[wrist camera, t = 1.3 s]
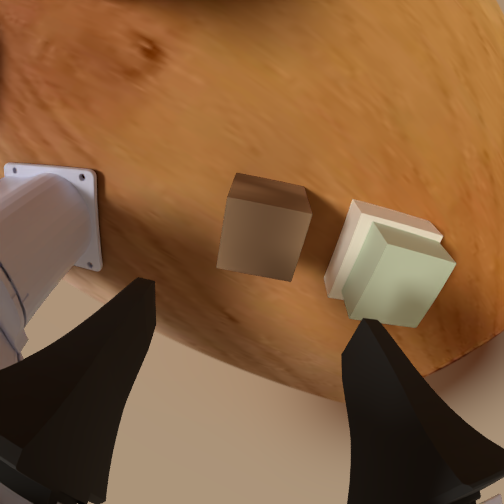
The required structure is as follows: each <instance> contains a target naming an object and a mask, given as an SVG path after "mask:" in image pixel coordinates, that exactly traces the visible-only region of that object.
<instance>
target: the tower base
mask: <svg viewBox="0 0 504 504" xmlns="http://www.w3.org/2000/svg"><path fill="white" fill-rule="evenodd" d="M372 222H377V223H380V224H384V225H387V226H391V227H394V228H397V229H401V230H404V231H407V232H410V233H414V234H417V235H420V236H423V237H426V238H429V239H432V240H435V241H438V242H439V243H440V242H441V240H442V238H443V235H442V234H441V233H440V232H439V231H438V230H437V229H436V228H435V226H434V225H433V224H432V223H431V222H430V221H427V220H424V219H421V218H418V217H415V216H411V215H408V214H405V213H401V212H398V211H395V210H391V209H388V208H384V207H381V206H377V205H374V204H370V203H366V202H363V201H359V200H355V199H352V202H351V205H350V208H349V211H348V214H347V217H346V219H345V222H344V225H343V228H342V231H341V233H340V236H339V239H338V242H337V244H336V247H335V250H334V252H333V255H332V258H331V260H330V263H329V266H328V268H327V271H326V273H325V276H324V282H325V286H326V291H327V295H328V298H335V299H341V300H344V299H343V295H342V292H341V291H342V289H343V287H344V285H345V282H346V280H347V278H348V276H349V274H350V272H351V270H352V268H353V265H354V263H355V261H356V259H357V257H358V254H359V252H360V250H361V248H362V245H363V243H364V241H365V238H366V236H367V234H368V231H369V229H370V227H371V224H372Z"/></svg>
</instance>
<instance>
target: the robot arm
mask: <svg viewBox="0 0 504 504" xmlns="http://www.w3.org/2000/svg"><path fill="white" fill-rule="evenodd" d="M16 170H17V171H16ZM4 174H5V177H3V178H1V179H0V504H77V503H78V504H87V503H88V501H89V502H91V503H94V504H100V503H103V502H105V501H106V492H107V484H108V476H109V471H110V465H111V459H112V454H113V449H114V445H115V440H116V436H117V431H118V428H119V424H120V420H121V417H122V413H123V409H124V406H125V403H126V401H127V398H128V396H129V393H130V391H131V389H132V386H133V384H134V381H135V379H136V377H137V374H138V372H139V370H140V367H141V365H142V363H143V361H144V358H145V356H146V354H147V351H148V349H149V346H150V343H151V339H152V336H153V333H154V329H155V326H156V306H155V281H152V280H148V279H143V278H139V277H138V278H136V279H135V280H134V281H133V282H131V283H130V284H129V285H128V286H127V287H125V288H124V289H123V290H122V291H121V292H120V293H118V294H117V295H116V296H115V297H114V298H112V299H111V300H110V301H109V302H108V303H106V304H105V305H104V306H103V307H101V308H100V309H99V310H98V311H97V312H95V313H94V314H93V315H92V316H90V317H89V318H88V319H86V320H85V321H84V322H82V323H81V324H80V325H78V326H77V327H76V328H74V329H73V330H72V331H70V332H69V333H67V334H66V335H65V336H63V337H61V338H60V339H58V340H57V341H55V342H54V343H52V344H51V345H49V346H47V347H45V348H44V349H42V350H40V351H38V352H37V353H35V354H33V355H31V356H29V357H27V358H25V359H23V356H22V354H21V350H22V349H23V347H24V346H25V344H26V343H27V341H28V338H27V336H26V334H25V331H24V328H25V326H26V325H27V323H28V322H29V321H30V319H31V318H32V316H33V315H34V314H35V312H36V311H37V310H38V308H39V307H40V306H41V304H42V303H43V302H44V301H45V299H46V298H47V297H48V296H49V294H50V293H51V291H52V290H53V289H54V288H55V287H56V285H57V284H58V283H59V282H60V281H61V279H62V278H63V277H64V276H65V275H66V273H67V272H68V271H69V270H70V269H71V267H72V266H73V265H74V266H78V267H82V268H86V269H89V270H93V271H100V270H101V269H102V267H103V263H102V254H101V245H100V234H99V221H98V204H97V176H96V173H95V172H94V171H93V170H91V169H84V168H74V167H64V166H52V165H40V164H27V163H11V162H9V163H7V164H5V166H4ZM82 174H84V176H85V179H83V177H82ZM91 263H92V264H91ZM341 355H342V381H343V388H344V394H345V401H346V407H347V413H348V420H349V427H350V437H351V469H350V485H349V493H348V501H347V504H476V500H477V499H480V497H481V495H480V490H482V489H484V488H486V487H487V486H489V485H491V484H493V483H495V482H496V481H498V480H500V479H501V478H503V477H504V449H503V448H502V447H500V446H499V445H497V444H495V443H494V442H492V441H490V440H489V439H487V438H486V437H484V436H483V435H482V434H480V433H479V432H478V431H476V430H475V429H474V428H472V427H471V426H470V425H469V424H468V423H466V422H465V421H464V420H463V419H462V418H461V417H460V416H458V415H457V414H456V413H455V412H454V411H453V410H452V409H451V408H450V407H449V406H448V405H447V404H446V403H445V402H444V401H443V400H442V399H441V398H440V397H439V396H438V395H437V394H436V393H435V391H434V390H433V389H432V388H431V387H430V386H429V384H428V383H427V382H426V381H425V380H424V378H423V377H422V376H421V375H420V373H419V372H418V371H417V370H416V368H415V367H414V366H413V365H412V363H411V362H410V361H409V359H408V358H407V357H406V355H405V354H404V353H403V351H402V350H401V349H400V347H399V346H398V345H397V343H396V342H395V341H394V339H393V338H392V337H391V336H390V334H389V333H388V332H387V330H386V329H385V328H384V327H383V325H382V324H381V323H380V322H379V321H378V320H376V319H368V318H363V319H362V321H361V322H360V324H359V326H358V328H357V329H356V331H355V333H354V334H353V336H352V338H351V340H350V341H349V343H348V345H347V346H346V348H345V350H344V351H343V353H342V354H341ZM480 504H502V498H501V494H497V495H496V496H494V497H492V498H490V499H488V500H486V501H484V502H482V503H480Z"/></svg>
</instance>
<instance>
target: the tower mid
mask: <svg viewBox="0 0 504 504" xmlns="http://www.w3.org/2000/svg"><path fill="white" fill-rule="evenodd" d="M455 265H456V262H455V261H454V260H453V259H452V257H451V256H450V255H449V254H448V252H447V251H446V250H445V249H444V248H443V247H442V245H441V244H440V243H439V242H438V241H435V240H432V239H429V238H426V237H423V236H420V235H417V234H414V233H410V232H407V231H404V230H401V229H397V228H394V227H391V226H387V225H384V224H380V223H377V222H372V224H371V227H370V229H369V231H368V234H367V236H366V238H365V241H364V243H363V245H362V248H361V250H360V252H359V254H358V257H357V259H356V261H355V263H354V265H353V268H352V270H351V272H350V274H349V276H348V278H347V280H346V282H345V285H344V287H343V289H342V291H341V292H342V295H343V299H344V302H345V306H346V309H347V313H348V316H349V319H355V320H362V319H363V318H368V319H376V320H378V321H379V322H380V323H383V324H390V325H398V326H405V327H413V328H416V327H417V326H418V324H419V323H420V321H421V320H422V319H423V317H424V316H425V314H426V313H427V311H428V310H429V308H430V307H431V305H432V303H433V302H434V300H435V299H436V297H437V296H438V294H439V292H440V291H441V289H442V287H443V286H444V284H445V282H446V281H447V279H448V277H449V276H450V274H451V272H452V270H453V269H454V267H455Z"/></svg>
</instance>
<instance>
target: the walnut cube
mask: <svg viewBox="0 0 504 504" xmlns="http://www.w3.org/2000/svg"><path fill="white" fill-rule="evenodd" d="M311 218H312V211H311V207H310V204H309V201H308V198H307V194H306V191H305V188H304V187H303V186H299V185H294V184H290V183H285V182H281V181H276V180H271V179H266V178H261V177H256V176H251V175H246V174H241V173H236V175H235V178H234V181H233V183H232V186H231V188H230V191H229V194H228V196H227V202H226V208H225V214H224V220H223V227H222V233H221V240H220V246H219V253H218V259H217V266H216V268H219V269H224V270H230V271H235V272H240V273H246V274H251V275H256V276H262V277H267V278H273V279H278V280H284V281H289V282H291V281H292V278H293V275H294V272H295V268H296V265H297V262H298V259H299V256H300V253H301V250H302V247H303V243H304V240H305V237H306V234H307V231H308V227H309V224H310V221H311Z"/></svg>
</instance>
